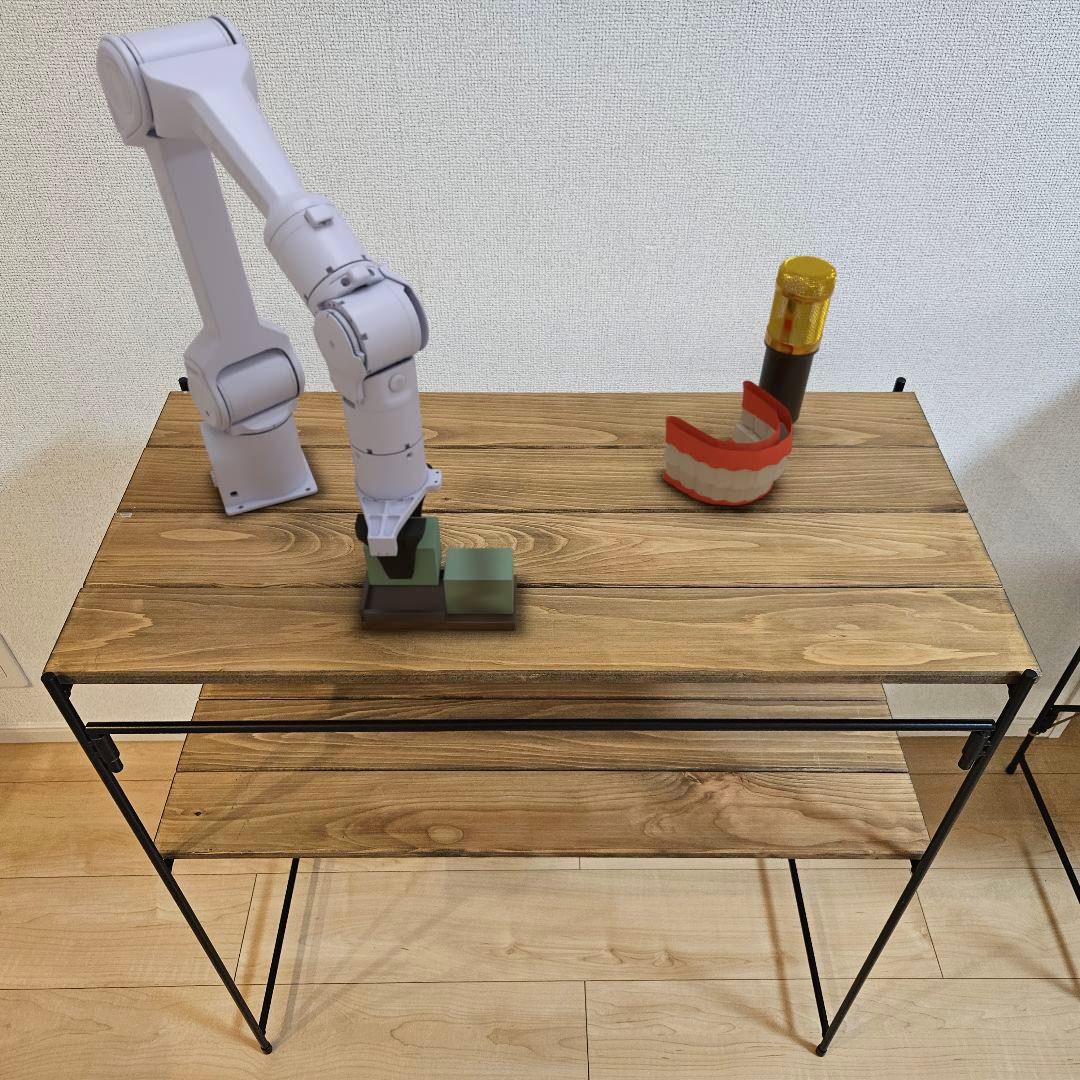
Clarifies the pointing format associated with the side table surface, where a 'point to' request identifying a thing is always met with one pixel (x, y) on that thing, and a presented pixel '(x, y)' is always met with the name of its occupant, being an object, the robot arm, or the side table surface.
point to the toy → (731, 453)
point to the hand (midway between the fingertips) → (403, 558)
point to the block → (424, 563)
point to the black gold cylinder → (796, 328)
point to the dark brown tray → (449, 596)
